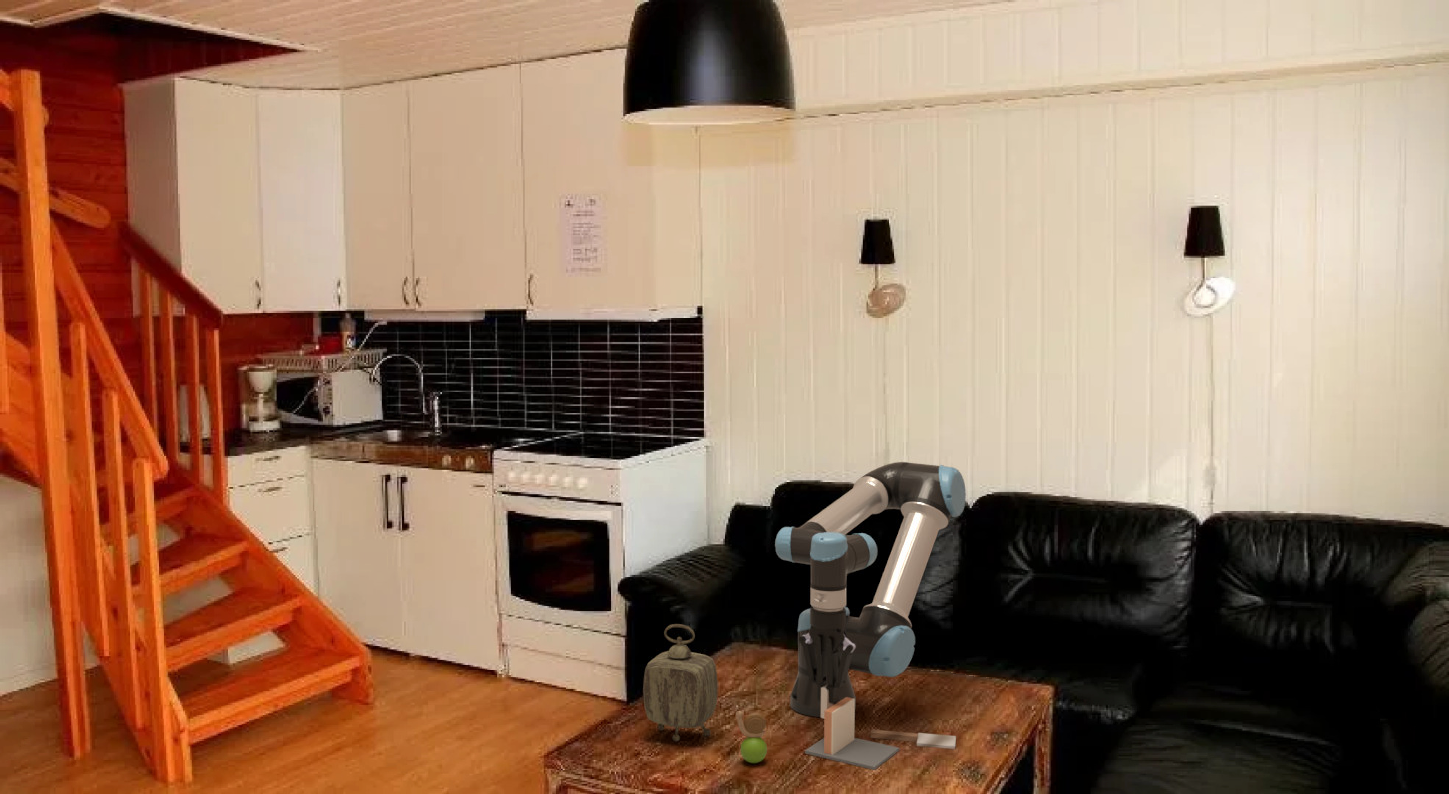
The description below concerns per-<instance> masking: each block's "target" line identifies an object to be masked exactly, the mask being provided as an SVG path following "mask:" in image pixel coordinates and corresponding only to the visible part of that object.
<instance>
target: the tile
mask: <svg viewBox="0 0 1449 794" xmlns="http://www.w3.org/2000/svg"><path fill="white" fill-rule="evenodd" d="M855 710H856V708H855V699H854V698H849V697H846V698H844V699H842V700H841V701H839V702H838V703H836V704H835V705H833V706H831V707H830V708H828V709H827V710H825V711H824V721H823V722H824V723H823V724H824V727H823V728H824V731H823V738H824V753H826V754H830V755H833V754H835V753H836V752H838V751H839V750H841V749H842V748H843V747H845V746H846V745H848V744H849V743H850V742H852V741H853V740H854V738H855V717H856V716H855V715H856V713H855V712H856V711H855Z"/></svg>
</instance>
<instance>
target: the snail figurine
mask: <svg viewBox="0 0 1449 794" xmlns="http://www.w3.org/2000/svg"><path fill="white" fill-rule="evenodd" d="M739 709H740V708H739V705H738V704H736V706H735V710H736V711H735V716H736V721H737V725H738V727H739V731H740V732H741V734H742V735H744V736H745V737H746V738H745V739H744V740H742V742H741V745H740V754H741V756H742V758H743V760H745V761H746V762H748V763H750V764H757V763H760V762H762V761H763V760H764V759H765V758H766V755H767V752H768V746H767V744H766V743H767V742H766V741H765V740H764V739H763V738H762V737H763V736H765V734H766V733H767V731H766V730H765V728H766V726H767V720H766V717H765V716H764V715H763V714H761V713H760V712H752V713H750V714H748V715H746V717H745V719H743V715H744V713H743V712H742V711H741V710H739Z"/></svg>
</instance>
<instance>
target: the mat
mask: <svg viewBox="0 0 1449 794" xmlns="http://www.w3.org/2000/svg"><path fill="white" fill-rule="evenodd" d="M899 751H900V747H897V746H892V745H889V744H884V743H880V742H875V741H871V740H866V739H862V738H857V737H854V740H853V741H852V742H850V743H849V744H848V745H846V746H845V747H843V748H842V749H841V750H839V751H838V752H836V753H835V754H833V755H830V754H826V753H824V737H823V738H821V739H820V740H818V741H817V742H815V743H814V744H812V745H811V746H809V747H808V748H806V749H805V750H804V754H806V755H811V756H814V757H819V758H823V759H827V760H832V761H835V762H839V763H844V764H848V765H853V766H856V767H861V768H863V769H869V770H873V771H875V770H876V769H877V768H879V767H880V766H881V765H884V763H886V761H889V759H891V758H892V757H893V756H894V755H896V754H897V753H899Z"/></svg>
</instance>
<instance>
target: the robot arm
mask: <svg viewBox="0 0 1449 794" xmlns="http://www.w3.org/2000/svg"><path fill="white" fill-rule="evenodd" d="M965 484H966V483H965V480H964V477H963V474H962V473H961V472H960V471H959V470H958V469H957V467H956V468H955V467H954V466H953V467H952V466H946V465H944V464H940V465H935V464H925V463H916V462H915V463H914V462H906V461H899V462H898V461H897V462H892V463H887V464H885V465H883V466H879V467H877V468H874V469H873V470H870V471H869V472H867V473H865V474H864V475H862V476H860V478H858V479H857V480H856V481H855V482H854V483H853V487H852V489H850V490H849V491H847V492H846V493H845V494H843V495H842V496H841V497H839V498H838V499H836V500H835V501H833V502H832V503H831V504H829V505H828V506H826V508H824V509H822V510H821V511H820V512H819V513H817V514H816V515H814V516H812V518H810V519H809V520H807V521H806V522H805V523H804V524H802V525H800V526H799V527H795V526H791V527H790V526H784V527H782V528H781V529H780V530H779V531H778V532H777V534H776V538H775V541H774V543H775V544H774V547H775V552H776V553H775V554H776V555H777V556H778V558H779V559H781V560H783V561H788V562H792V563H798V564H805V565H810V596H809V597H810V600H809V601H810V603H809V604H810V605H811V607H810V608H807V609H805V610H803V611H802V612H801V613H800V614H799V618H798V624H797V625H798V626H797V646H798V647H797V648H798V649H797V652H798V653H797V655H798V656H797V658H798V659H797V670H798V671H797V675H796V678H795V681H794V684H793V687H792V691H791V693H790V696H789V697H790V708H791V709H792V710H793V711H795V712H797V713H798V714H800V715H801V714H802V715H804V716H810V717H817V718H821V719H824V711H825V710H827V709H828V708H830V707H831V706H833V705H835V704H836V703H838V702H839V701H841V700H842V699H844V698H846V697H849V698H854V699H855V709H856V708H857V707H856V705H857V704H856V703H857V702H856V700H857V699H856V694H855V691H854V688H853V685H852V682H851V678H850V675H849V670H852V671H856V672H860V673H861V672H862V673H865V674H866V673H867V674H871V675H873V676H876V677H886V678H887V677H888V678H895V677H897V676H898V675H901V674H902V673H903V672H905V671H906V669H907V668H908V667H909V665H910V662H911V660H912V658H913V656H914V652H915V647H914V646H915V645H916V636H915V633H914V631H913V629H912V627H913V625H912V622H911V620H910V619H909V615H910V612H911V610H912V606H913V603H914V601H915V598H916V596H917V593H918V590H919V588H920V587H919V586H920V584H921V581H922V578H923V576H924V572H925V570H926V567H927V564H928V562H929V559H930V556H931V553H932V550H933V547H934V544H935V542H936V539H937V536H938V533H939V531H940V530H942V529H945V528H947V526H948V525H949V522H950V518H951V517H952V518H956V517H959V516H961V514H962V513H963V512H964V509H965V505H966V497H967V496H966V493H967V492H966V485H965ZM894 509H895V510H900V512H901V514H902V516H903V519H902V522H901V524H900V528H899V530H898V534H897V536H896V538H895V541H894V543H893V546H892V549H891V552H890V555H889V557H888V560H887V563H886V565H885V568H884V571H883V572H882V576H881V578H880V582H879V584H878V586H877V589H876V592H875V595H874V596H873V600H872V603H870V604H866V605H864V606H863V608H862V610H861V613H860V615H859V617H856V616H850V614H851V612H850V609H849V608H848V607H847V576H848V575H849V574H851V573H855V572H856V571H860V570H861V571H862V570H864V569H866V568H868V567H869V566H871V565H872V564H873V563H875V561H876V559H877V556H878V545H877V544H876V542H875V540H874V538H872V536H871V535H868V534H867V533H863V532H861V533H860V532H859V533H855V532H854V533H852V534H851V535H850V534H849V535H848V533H849V532H851V531H852V530H853V529H854V528H856V527H857V526H858V525H860V524H861V523H862V522H863V521H865V520H867V519H868V518H869V517H870V516H871V515H877V514H880V513H882V512H884V511H885V510H894Z"/></svg>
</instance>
